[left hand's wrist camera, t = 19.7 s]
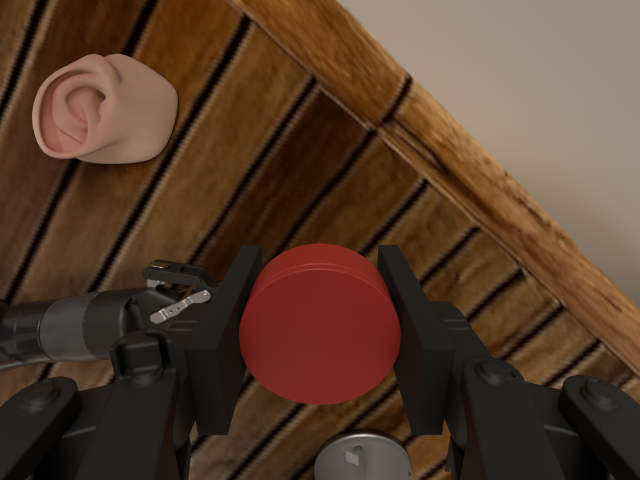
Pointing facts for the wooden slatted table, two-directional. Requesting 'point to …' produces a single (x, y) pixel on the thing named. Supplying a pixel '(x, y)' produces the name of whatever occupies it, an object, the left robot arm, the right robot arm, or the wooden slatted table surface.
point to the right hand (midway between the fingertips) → (252, 309)
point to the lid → (319, 326)
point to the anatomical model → (104, 111)
